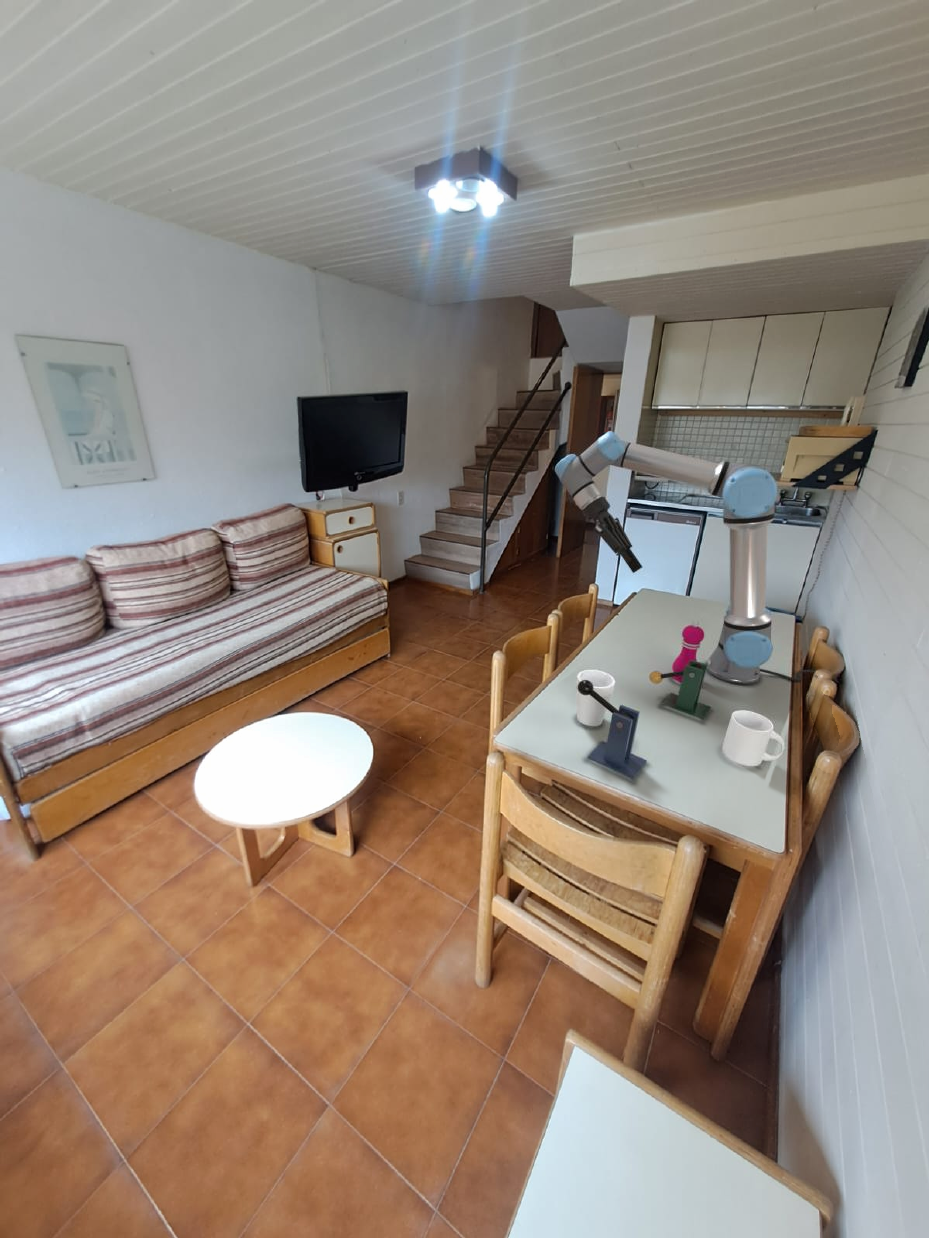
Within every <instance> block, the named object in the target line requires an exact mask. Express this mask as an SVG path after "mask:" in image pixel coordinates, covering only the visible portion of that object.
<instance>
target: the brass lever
mask: <svg viewBox="0 0 929 1238" xmlns="http://www.w3.org/2000/svg"><path fill="white" fill-rule="evenodd" d="M692 667H695V668H698V669H701V667H700V665H696V666H692ZM683 673H684V671H678V672H674V671H672V672H667V673H662V672H661V671H659V670H653V671H651V672H650V673H649V676H648V679H649V681H650V682H651V683H652V684H656V685H658V684H660V683H662V682H663V680H664V679H669V678H672V677H676V676H682V675H683Z"/></svg>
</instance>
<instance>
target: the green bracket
mask: <svg viewBox="0 0 929 1238" xmlns="http://www.w3.org/2000/svg"><path fill="white" fill-rule="evenodd" d="M696 665H700V667H701V669H698V668H695V667H692V666H696ZM706 673H707V663H703V662H700V661H698V660H697V661H694V660H690V661H689V665H686V666H685V669H684V673H683V677H682V681H681V682H680V685H679V690H678V693H677V694H676V693H674V692H670V693H669V694H668V695H667V697H666V698H665V699H664V701H662V703H661V705H662V706H665V707H668V708H671V709H674V710H675V711H679V712H680V713H681V712H682V713H684V714H687V715H690V716H692V717H696V718H698V719H700V720H704V719H705V717H706V716H707V714H708V713H709V711H710V710H711V708H712V706H710V705H708V704H705V703H702V702H699V700H700V696H701V691H702V688H703V683H704V679H705V676H706Z"/></svg>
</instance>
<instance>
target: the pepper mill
mask: <svg viewBox="0 0 929 1238" xmlns="http://www.w3.org/2000/svg"><path fill="white" fill-rule="evenodd" d="M699 625H700V623H699V622H698V621H696V620H695V621H692V623H691V625H687V626H685V627H684V628H683V629H682V632H681V636H682V640H681V646H682V647H681V651H680V652H679V654H678V656H677V657H676V659H674V661H673V663H672V666H671V669H672V672H678V671H684V669H685V666H686V665H689V661H690V660H694V661H697V662H698V660H697V652H698V650H699V649H700V648H701V642H702V641H703V640H704V638H705V632H704V629H703V628H702V627H701V626H699ZM682 677H683V675H682V676H676V677H671V678H672V679H673V680H675V681H676V682H679V683H681V681H682Z"/></svg>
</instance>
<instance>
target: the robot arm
mask: <svg viewBox="0 0 929 1238" xmlns="http://www.w3.org/2000/svg"><path fill="white" fill-rule="evenodd" d="M608 466H613V467H617V468H622V469H625V470H630V471H633V472H637V473H641V474H643V475H647V476H648V475H649V476H652V477H656V478H660V479H664V480H666V481H671V482H675V483H678V484H683V485H686V486H690V487H694V488H699V489H702V490H706V491H708V494H709V496H715V497H718V498H719V499H722V513H723V514H722V517H723V520H722V521H723V524H724V525H725V526H726V527H728V529H729V604H728V606H727V609H726V610H725V615H724V616H723V624H722V627H721V631H720V636H719V640H718V643H717V646H716V648H715V649H714V650H713V652H712V653H711V654H710V656H709V657H708V658H707V660H706V664H707V669H706V672H708V673H709V674H710V675H712V676H713V677H715V678H717V679H718V680H722V681H725V682H727V683H731V684H737V685H752V684H756V683H757V682H759V679H760V676H761V673H764V674H769V675H773V676H777V677H780V678H783V679H785V680H790V681H793V682H800V681H802V680H803V676H802V674H815V673H814V671H815V670H813V669H800V670H798V671H797V676H798V677H791V676H788V675H786V674H782V673H779V672H776V671H772V670H767V669H764V668H760V666H763V665H764V664H766V663H768V661H769V660H770V659H771V657H772V654H773V650H774V645H773V642H772V611H771V610H770V609H769V608H766V599H767V598H766V595H767V592H766V591H767V586H766V585H767V551H768V550H767V546H768V526H769V525H770V524H771V523H772V522H773V521H774V520H775V507H776V506H775V503H776V500H777V496H778V484H777V481H776V480H775V478H774V475H772V474H771V473H770V472H769V471H768V470H767V469H765V468H764V467H762V466H759V465H756V464H745V463H737V462H732V461H731V462H730V461H727V460H722V461H721V462H715V461H710V460H705V459H702V458H697V457H694V456H689V455H684V454H681V453H676V452H672V451H668V450H663V449H660V448H655V447H651V446H646V445H643V444H638V443H636V442H635V443H634V442H629V441H625V440H622V439H621V438H620V437H619V436H618V434H616V433H615V432H614V431H612V430H609V431H607V432H605V433H604V434H603V435H601V436H600V437H598V439H597V440H596V441H594V443H592V444H591V445H590V446H589V447H587V448H586V449H585V450H584V451H583V452H582V453H580V454H579V455H578V456H577V455H576V454H575V453H571V454H568V455H566V456H565V457H564V458H561V459H560V461H558V462H557V464H556V465H555V467H554V473H556V476H557V477H558V479H559V481H560V483H561V484H562V485H563V486H564V488H565V489H566V491H567V492H568V493H569V495H570V497H571V498H572V500H573V501H574V502H575V506H577V507H578V508H579V510H581V512H582V515H583V516H584V518H585V519H586V520H587V521H588V522H592V521H593V523H594V525H595V526H594V527H593V531H594V532H595V533H597V534H598V535H599V536H600V537H601V539H602V540H603V541H604V543H606V544H607V546H608V547H609V548H610V549H611V551H612V552H613V553H614V554H615V555H616V557H618V556H621V558H622V559H623V560H624V562H625V564H626V565H627V567H629V569H630V571H631V573H633V574H634V573H636V572H637V571H639V570H640V569H642V568H643V565H642V564H641V562H640V560H639V559H638V558H637V556H636V555H635V553H634V552H633V551H632V549H631V548H633V545H632V543H631V541H630V539H629V537H628V535H627V534H626V532H625V530H624V528H623V526H622V525H621V523H620V522H621V521H620V519H619V518H618V517H615V518H614V517H613V515H612V514H611V513H610V512H609V509H610V508H611V505H610V504H611V503H609V502H608V500H607V499H606V497H605V496H603V492H602V491H601V489H600V488H599V486H598V485H597V484H596V482H595V481H594V480H593V478H594V477H596V476H597V475H598V474H599V473H601V472H602V471H603V470H605V469H606V468H607V467H608ZM832 681H833V682H834V681H835V683H839V680H838V679H837V678H836V677H835V678H834V679H833V680H832Z"/></svg>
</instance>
